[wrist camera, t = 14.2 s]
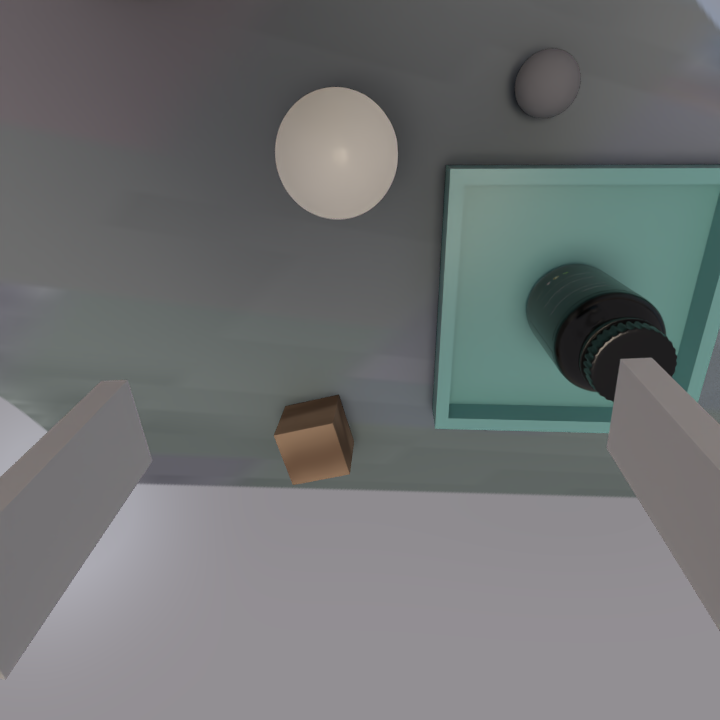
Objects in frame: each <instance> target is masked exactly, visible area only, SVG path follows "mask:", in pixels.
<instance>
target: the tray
mask: <svg viewBox="0 0 720 720" xmlns="http://www.w3.org/2000/svg"><path fill="white" fill-rule="evenodd" d="M571 264H585V265H590V266H593V267H595V268H598V269H600V270H602V271H603V272H605V273H607V274H608V275H610V276H611V277H613V278H614V279H616V280H617V281H619V282H621V283H622V284H624V285H625V286H627V287H628V288H630V289H631V290H633V291H635V292H636V293H638V294H639V295H641V296H642V297H644V298H645V299H647V300H648V301H649V302H650V303H652V304H653V305H654V306H655V307H656V308H657V310H658V311H659V313H660V314H661V316H662V318H663V321H664V324H665V328H666V336H667V337H668V339H669V340H670V341H671V342H672V344H673V347H674V348H675V349H676V353H675V354H676V355H677V359H676V362H677V366H676V367H675V373H674V374H673V375H672V378H673V379H674V380H675V381H676V382H677V383H678V384H679V385H680V386H681V387H682V388H683V389H684V390H685V391H686V392H687V393H688V394H689V395H690V396H691V397H692V398H693V399H694V400H695V401H696V402H697V403H698V400H699V397H700V393H701V390H702V386H703V383H704V379H705V376H706V372H707V369H708V365H709V362H710V358H711V355H712V351H713V348H714V345H715V341H716V338H717V334H718V331H719V327H720V164H680V165H446V172H445V190H444V208H443V226H442V243H441V261H440V279H439V297H438V315H437V333H436V351H435V369H434V387H433V405H432V409H433V416H434V424H435V429H468V430H507V431H545V432H584V433H609V430H610V423H611V417H612V410H613V404H614V402H612V401H611V400H606V399H605V398H604V397H603V396H600V395H599V394H598V393H597V392H591V391H587V390H584V389H581V388H579V387H577V386H575V385H573V384H572V383H571V382H569V381H568V380H567V379H566V378H565V377H564V376H563V375H562V374H561V373H560V371H559V370H558V368H557V367H556V366H555V364H554V363H553V361H552V360H551V358H550V357H549V356H548V354H547V353H546V351H545V350H544V348H543V347H542V346H541V344H540V343H539V341H538V340H537V338H536V337H535V336H534V334H533V332H532V331H531V329H530V327H529V324H528V321H527V313H526V310H527V303H528V299H529V296H530V294H531V292H532V290H533V288H534V287H535V285H536V284H537V283H538V282H539V281H540V280H541V279H542V278H543V277H544V276H545V275H546V274H548V273H549V272H551V271H553V270H555V269H557V268H559V267H562V266H566V265H571Z"/></svg>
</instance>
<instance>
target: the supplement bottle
mask: <svg viewBox="0 0 720 720" xmlns="http://www.w3.org/2000/svg"><path fill="white" fill-rule="evenodd" d="M526 313H527V321H528V324H529V327H530V329H531V331H532V332H533V334H534V336H535V337H536V338H537V340H538V341H539V343H540V344H541V346H542V347H543V348H544V350H545V351H546V353H547V354H548V356H549V357H550V358H551V360H552V361H553V363H554V364H555V366H556V367H557V368H558V370H559V371H560V373H561V374H562V375H563V376H564V377H565V378H566V379H567V380H568V381H569V382H571V383H572V384H573V385H575V386H577V387H579V388H581V389H584V390H587V391H591V392H597V393H598V394H599V395H600V396H603V397H604V398H605V399H606V400H611V401H612V402H614V397H615V391H616V384H617V378H618V372H619V365H620V359H631V358H653V359H654V360H655V361H656V362H657V363H658V364H659V365H660V366H661V367H662V368H663V369H664V370H665V371H666V372H667V373H668V374H669V375H670V376H671V377H672V375H673V374H674V373H675V367H676V366H677V362H676V359H677V355H676V354H675V353H676V349H675V348H674V347H673V344H672V342H671V341H670V340H669V339H668V337H667V336H666V328H665V324H664V321H663V318H662V316H661V314H660V313H659V311H658V310H657V308H656V307H655V306H654V305H653V304H652V303H650V302H649V301H648V300H647V299H645V298H644V297H642V296H641V295H639V294H638V293H636V292H635V291H633V290H631V289H630V288H628V287H627V286H625V285H624V284H622V283H621V282H619V281H617V280H616V279H614V278H613V277H611V276H610V275H608V274H607V273H605V272H603V271H602V270H600V269H598V268H595V267H593V266H590V265H585V264H571V265H566V266H562V267H559V268H557V269H555V270H553V271H551V272H549V273H548V274H546V275H545V276H544V277H543V278H542V279H541V280H540V281H539V282H538V283H537V284H536V285H535V287H534V288H533V290H532V292H531V294H530V296H529V299H528V303H527V310H526Z"/></svg>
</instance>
